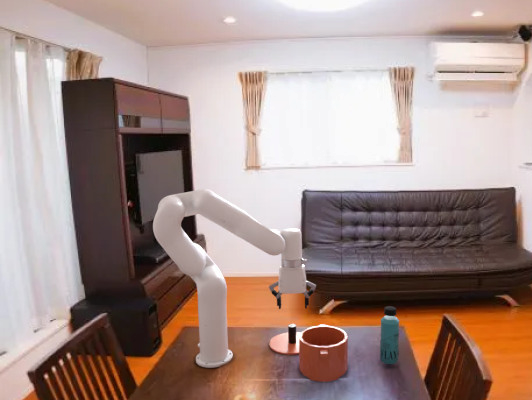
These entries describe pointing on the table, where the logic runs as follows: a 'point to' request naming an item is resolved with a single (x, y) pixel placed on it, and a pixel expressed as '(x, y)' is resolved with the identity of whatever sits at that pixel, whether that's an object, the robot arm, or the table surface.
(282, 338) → the lid
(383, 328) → the beverage bottle
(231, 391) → the table surface
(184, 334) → the table surface
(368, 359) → the table surface
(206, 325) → the robot arm
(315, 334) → the dutch oven
